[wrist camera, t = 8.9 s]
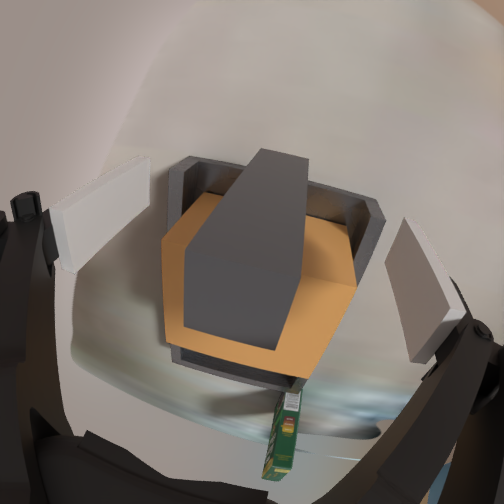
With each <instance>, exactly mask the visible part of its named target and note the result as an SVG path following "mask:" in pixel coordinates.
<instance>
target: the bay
mask: <svg viewBox="0 0 504 504" xmlns="http://www.w3.org/2000/svg"><path fill="white" fill-rule="evenodd" d="M246 167H247V166H242V165H237V164H232V163H227V162H222V161H216V160H211V159H205V158H199V157H193V156H189V157H187V158H185V159H184V160H182V161H181V162H179V163H178V164H176V165H175V166H173V167H172V168H170V169H169V182H168V211H167V232H168V231H169V230H170V229H171V228H172V227H173V226H174V224H175V223H176V222H177V221H178V220H179V219H180V218H181V217H182V215H183V214H184V213H185V212H186V211H187V210H188V209H189V208H190V207H191V206H192V204H193V203H194V202H195V201H196V200H197V199H198V198H199V197H200V196H201V195H202V194H203V193H204V192H206V193H211V194H216V195H221V196H224V195H225V194H226V193H227V191H228V190H229V189H230V187H231V186H232V185H233V183H234V182H235V181H236V179H237V178H238V177H239V176H240V174H241V173H242V172H243V170H244V169H245V168H246ZM306 216H310V217H314V218H318V219H322V220H326V221H330V222H333V223H337V224H341V225H345V226H347V231H348V237H349V242H350V247H351V253H352V259H353V265H354V271H355V277H356V284H357V287H358V284H359V282H360V280H361V278H362V276H363V274H364V272H365V269H366V267H367V265H368V263H369V260H370V258H371V256H372V254H373V251H374V249H375V247H376V244H377V242H378V240H379V237H380V235H381V232H382V230H383V227H384V225H385V222H386V219H385V217H384V215H383V213H382V211H381V209H380V207H379V204H378V202H377V200H376V199H373V198H369V197H366V196H363V195H359V194H356V193H352V192H349V191H345V190H342V189H338V188H335V187H331V186H327V185H323V184H320V183H316V182H312V181H308V186H307V203H306ZM171 356H172V362H174V363H177V364H180V365H183V366H186V367H189V368H192V369H195V370H199V371H202V372H205V373H209V374H212V375H216V376H219V377H223V378H227V379H231V380H234V381H238V382H242V383H246V384H250V385H254V386H259V387H263V388H268V389H272V390H277V391H282V392H287V393H292V394H297V395H298V394H299V393H300V391H301V390H302V388H303V386H304V385H305V383H306V381H307V380H308V379H306V378H301V377H296V376H291V375H286V374H281V373H277V372H272V371H268V370H264V369H259V368H255V367H251V366H247V365H243V364H239V363H235V362H231V361H228V360H224V359H220V358H217V357H213V356H210V355H206V354H203V353H199V352H196V351H193V350H190V349H186V348H183V347H180V346H177V345H174V344H171Z"/></svg>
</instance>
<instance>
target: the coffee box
mask: <svg viewBox="0 0 504 504" xmlns="http://www.w3.org/2000/svg"><path fill="white" fill-rule="evenodd" d="M302 391H303V389H302V390H301V391H300V393H299V394H298V395H297V394H292V393H287V392H283V393H282V395H281V397H280V399H279V401H278V403H277V406H276V408H275V412H274V418H273V423H272V429H271V434H270V440H269V445H268V450H267V455H266V460H265V464H264V469H263V474H262V479H266V480H271V481H280V480H281V479H282V478H283V477H284V476H285V475H286V474H287V473H288V472H289V471H290V470H291V469H292V465H293V458H294V452H295V445H296V439H297V432H298V425H299V418H300V410H301V401H302Z"/></svg>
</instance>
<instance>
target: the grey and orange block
mask: <svg viewBox="0 0 504 504" xmlns="http://www.w3.org/2000/svg"><path fill="white" fill-rule="evenodd" d="M308 165H309V159H306V158H302V157H298V156H294V155H290V154H286V153H281V152H277V151H272V150H267V149H263V148H261V149H260V150H259V151H258V153H257V154H256V155H255V156H254V158H253V159H252V160H251V161H250V163H249V164H248V165H247V167H246V168H245V169H244V170H243V172H242V173H241V174H240V176H239V177H238V178H237V179H236V181H235V182H234V183H233V185H232V186H231V187H230V189H229V190H228V191H227V193H226V194H225V195H224V196H221V195H216V194H211V193H206V192H204V193H203V194H202V195H201V196H200V197H199V198H198V199H197V200H196V201H195V202H194V203H193V204H192V206H191V207H190V208H189V209H188V210H187V211H186V212H185V213H184V214H183V215H182V217H181V218H180V219H179V220H178V221H177V222H176V223H175V224H174V226H173V227H172V228H171V229H170V230H169V231H168V232H167V234H166V235H165V236H164V237H163V238H162V239H161V257H162V287H163V306H164V321H165V334H166V342H168V343H171V344H174V345H177V346H180V347H183V348H186V349H190V350H193V351H196V352H199V353H203V354H206V355H210V356H213V357H217V358H220V359H224V360H228V361H231V362H235V363H239V364H243V365H247V366H251V367H255V368H259V369H264V370H268V371H272V372H277V373H281V374H286V375H291V376H296V377H301V378H306V379H308V378H309V377H310V375H311V373H312V372H313V370H314V368H315V367H316V365H317V363H318V361H319V360H320V358H321V356H322V354H323V353H324V351H325V349H326V347H327V346H328V344H329V342H330V340H331V338H332V336H333V335H334V333H335V331H336V329H337V327H338V325H339V323H340V321H341V319H342V317H343V316H344V314H345V312H346V310H347V308H348V306H349V304H350V302H351V300H352V298H353V296H354V293H355V291H356V289H357V284H356V277H355V271H354V265H353V259H352V253H351V247H350V242H349V237H348V231H347V226H345V225H341V224H337V223H333V222H330V221H326V220H322V219H318V218H314V217H310V216H306V203H307V186H308Z"/></svg>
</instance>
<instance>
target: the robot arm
mask: <svg viewBox="0 0 504 504" xmlns="http://www.w3.org/2000/svg"><path fill="white" fill-rule="evenodd" d="M10 202H11V208H12V213H13V217H14V222H7V219H6V215H5V212H4V211H0V504H278V503H276V502H274V501H272V500H269V499H267V496H268V491H263V490H256V489H251V488H246V487H241V486H237V485H232V484H227V483H223V482H211V481H193V480H182V479H172V478H168V477H165V476H164V475H162V474H161V473H159V472H157V471H156V470H154V469H153V468H151V467H150V466H148V465H147V464H145V463H144V462H143V461H141V460H140V459H139V458H137V457H136V456H134V455H133V454H132V453H130V452H129V451H128V450H126V449H124V448H122V447H120V446H118V445H116V444H113V443H111V442H110V441H107V440H105V439H103V438H101V437H100V436H98V435H96V434H93V433H91V432H90V431H88V430H87V431H86V433H85V435H84V437H81V436H74V434H73V432H72V430H71V427H70V425H69V423H68V421H67V419H66V416H65V413H64V408H63V402H62V396H61V389H60V382H59V374H58V365H57V354H56V339H55V312H54V311H55V309H54V297H55V266H54V261H55V260H56V259H57V258H58V257H59V259H60V263H61V267H62V269H63V270H66V271H68V272H71V273H73V274H76V273H77V272H78V271H79V270H80V269H81V268H82V267H83V266H84V265H85V264H86V263H87V262H88V261H89V260H90V259H91V258H92V257H93V256H94V255H95V254H96V253H97V252H98V251H99V250H100V249H101V248H102V247H103V246H104V245H105V244H106V243H107V242H109V241H110V240H111V239H112V238H113V237H114V236H115V235H116V234H117V233H118V232H119V231H120V230H122V229H123V228H124V227H125V226H126V225H127V224H128V223H129V222H131V221H132V220H133V219H134V218H135V217H136V216H137V215H138V214H140V213H141V212H142V211H143V210H144V209H145V208H147V207H148V206H149V205H150V157H143V156H137V157H135V158H133V159H131V160H129V161H127V162H125V163H123V164H122V165H120V166H118V167H116V168H114V169H112V170H110V171H109V172H107V173H105V174H103V175H102V176H100V177H98V178H97V179H95V180H93V181H91V182H90V183H88V184H86V185H84V186H83V187H81V188H80V189H78V190H76V191H75V192H73V193H71V194H70V195H68V196H67V197H65V198H64V199H62V200H60V201H59V202H57V203H56V204H54V205H53V206H51V207H50V208H49V209H47V210H46V211H44V212H43V213H42V208H41V203H40V195H39V193H38V192H35V191H29V192H25V193H21V194H19V195H17V196H16V197H14V198H13V199H12V200H11V201H10ZM385 265H386V268H387V272H388V275H389V278H390V282H391V285H392V289H393V292H394V296H395V300H396V303H397V307H398V311H399V315H400V319H401V323H402V327H403V331H404V336H405V340H406V345H407V349H408V354H409V359H410V362H413V363H421V364H426V363H427V362H428V361H429V360H430V359H431V357H432V356H433V355H434V354H435V356H436V360H437V362H436V363H435V364H434V365H433V367H432V368H431V369H430V370H429V371H428V372H427V373H426V374H425V375H424V376H423V377H422V379H421V380H422V381H423V382H422V383H421V385H420V386H419V388H418V389H417V391H416V392H415V394H414V395H413V396H412V398H411V399H410V401H409V402H408V403H407V405H406V406H405V408H404V409H403V410H402V412H401V413H400V414H399V415H398V417H397V418H396V419H395V421H394V422H393V423H392V424H391V426H390V427H389V428H388V430H387V431H386V432H385V433H384V434H383V435H382V437H381V438H380V439H379V440H378V441H377V443H376V444H375V445H374V446H373V447H372V448H371V449H370V451H369V452H368V453H367V454H366V455H365V456H364V457H363V458H362V459H361V460H360V461H359V463H358V464H357V465H356V466H355V467H354V468H353V469H352V470H351V471H350V472H349V473H348V474H347V475H346V476H345V477H344V478H343V479H342V480H341V481H340V482H339V483H337V484H336V485H335V486H334V487H333V488H332V489H331V490H330V491H329V492H328V493H326V494H325V495H324V496H323V497H321V498H320V499H318V500H317V501H315V502H313V503H312V504H420V502H421V501H422V499H423V497H424V496H425V494H426V493H427V492H428V490H429V488H430V491H429V496H428V504H504V345H503V346H501V345H499V344H497V343H495V342H494V338H493V335H492V332H491V331H490V329H489V328H488V327H487V326H486V325H485V324H484V323H483V322H481V321H479V320H476V319H473V317H472V315H471V312H470V310H469V308H468V306H467V304H466V302H465V301H464V298H463V296H462V294H461V292H460V290H459V288H458V286H457V284H456V283H455V282H454V281H453V280H452V279H451V277H450V276H449V275H448V274H447V272H446V270H445V268H444V266H443V264H442V263H441V261H440V259H439V257H438V255H437V254H436V252H435V250H434V249H433V247H432V245H431V243H430V242H429V240H428V238H427V237H426V235H425V234H424V232H423V230H422V229H421V227H420V226H419V224H418V222H417V221H414V220H411V219H408V218H405V217H404V219H403V221H402V224H401V226H400V229H399V231H398V233H397V236H396V238H395V240H394V243H393V245H392V247H391V249H390V251H389V254H388V256H387V258H386V260H385ZM456 441H457V443H456ZM455 443H456V447H455V451H454V454H453V458H452V462H450V463H447V464H445V465H444V463H445V462H446V460H447V458H448V457H449V455H450V453H451V451H452V449H453V447H454V445H455Z"/></svg>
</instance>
